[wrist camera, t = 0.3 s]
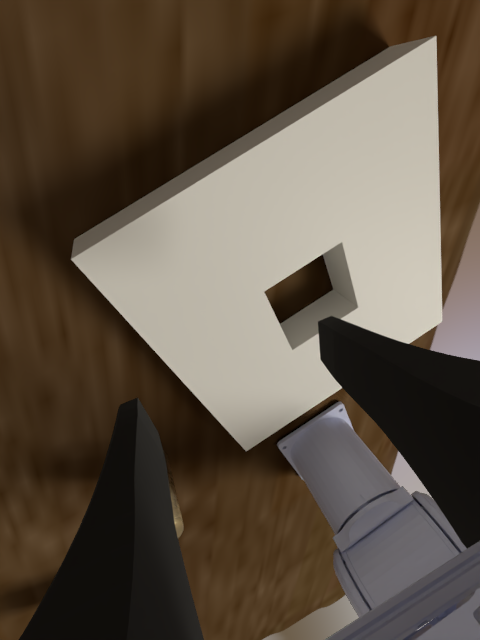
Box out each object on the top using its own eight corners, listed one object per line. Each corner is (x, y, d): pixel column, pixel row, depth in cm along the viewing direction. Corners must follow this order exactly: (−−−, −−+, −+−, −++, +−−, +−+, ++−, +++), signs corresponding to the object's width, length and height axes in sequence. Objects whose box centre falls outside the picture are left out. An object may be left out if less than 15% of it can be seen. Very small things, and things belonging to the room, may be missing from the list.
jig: (414, 305, 30) (442, 321, 27) (233, 424, 29) (246, 451, 27) (390, 46, 18) (436, 35, 15) (74, 239, 17) (70, 259, 14)
